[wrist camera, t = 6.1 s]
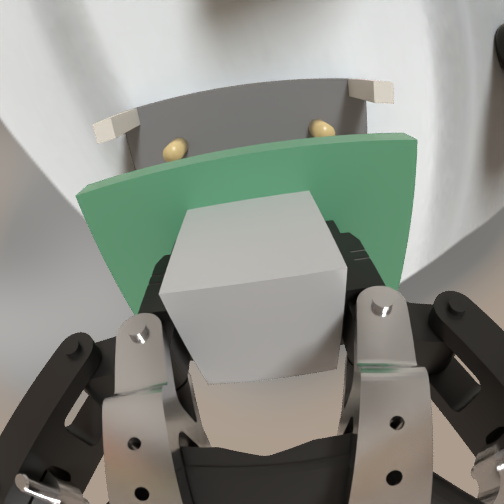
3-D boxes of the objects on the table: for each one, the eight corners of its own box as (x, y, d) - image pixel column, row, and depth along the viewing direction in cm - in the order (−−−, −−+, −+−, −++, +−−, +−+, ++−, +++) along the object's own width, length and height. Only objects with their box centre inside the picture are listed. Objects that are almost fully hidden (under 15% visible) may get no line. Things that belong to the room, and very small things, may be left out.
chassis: (359, 78, 15) (393, 82, 11) (359, 218, 22) (383, 254, 18) (126, 110, 16) (92, 124, 12) (164, 242, 23) (148, 282, 19)
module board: (403, 132, 9) (497, 187, 4) (389, 279, 13) (431, 362, 8) (87, 185, 9) (12, 262, 5) (147, 313, 13) (123, 401, 9)
